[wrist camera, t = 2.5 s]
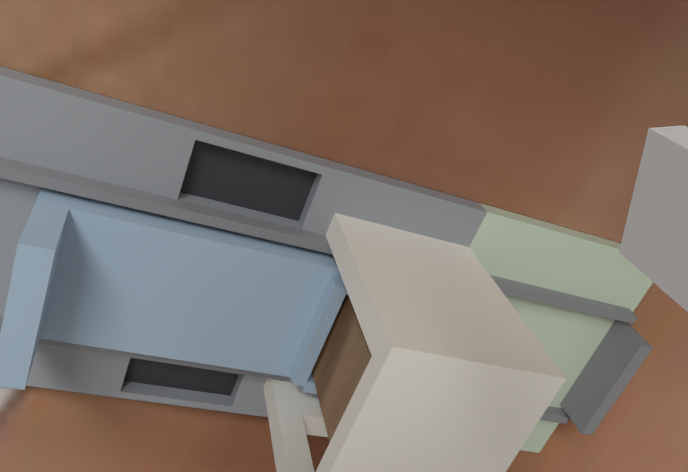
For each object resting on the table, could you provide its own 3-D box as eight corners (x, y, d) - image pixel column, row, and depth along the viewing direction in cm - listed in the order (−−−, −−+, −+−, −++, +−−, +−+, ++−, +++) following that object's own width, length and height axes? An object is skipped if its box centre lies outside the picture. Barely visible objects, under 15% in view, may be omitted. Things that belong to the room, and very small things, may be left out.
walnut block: (310, 365, 40) (332, 454, 34) (344, 287, 38) (374, 368, 32) (394, 379, 42) (429, 465, 36) (431, 306, 40) (475, 385, 34)
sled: (15, 316, 36) (-10, 385, 31) (41, 188, 33) (17, 243, 28) (422, 383, 45) (450, 444, 40) (473, 287, 42) (510, 342, 37)
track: (-80, 356, 37) (-191, 569, 26) (-39, 55, 30) (-168, 170, 19) (532, 441, 53) (627, 599, 41) (655, 253, 45) (810, 382, 34)
